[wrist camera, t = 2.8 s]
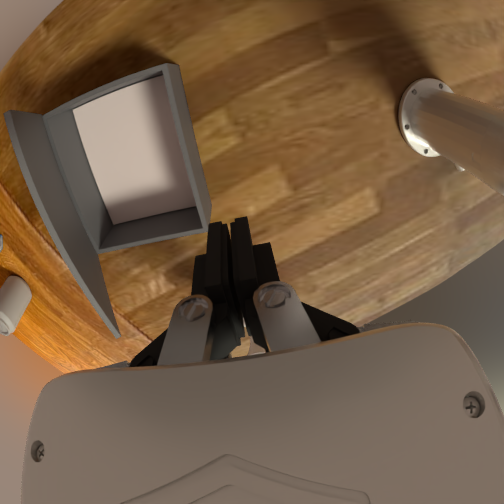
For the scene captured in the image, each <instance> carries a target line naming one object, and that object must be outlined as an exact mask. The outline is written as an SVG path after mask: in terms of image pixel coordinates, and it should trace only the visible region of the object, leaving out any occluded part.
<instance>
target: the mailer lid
mask: <svg viewBox="0 0 504 504" xmlns="http://www.w3.org/2000/svg"><path fill="white" fill-rule="evenodd" d="M4 117H5V121H6V125H7V128H8V132H9V135H10V138H11V142H12V145H13V148H14V151H15V154H16V157H17V160H18V162H19V165H20V168H21V171H22V173H23V176H24V178H25V181H26V183H27V186H28V188H29V191H30V193H31V195H32V198H33V200H34V202H35V204H36V207H37V209H38V211H39V213H40V215H41V217H42V219H43V222H44V224H45V226H46V228H47V230H48V232H49V233H50V235H51V237H52V239H53V241H54V243H55V245H56V247H57V249H58V250H59V252H60V254H61V256H62V258H63V259H64V261H65V263H66V264H67V266H68V268H69V270H70V271H71V273H72V275H73V276H74V278H75V279H76V281H77V283H78V284H79V286H80V287H81V289H82V291H83V292H84V294H85V295H86V297H87V298H88V300H89V301H90V303H91V304H92V306H93V307H94V308H95V310H96V311H97V313H98V314H99V316H100V317H101V318H102V320H103V321H104V323H105V324H106V325H107V327H108V328H109V329H110V331H111V332H112V333H113V335H114V336H115V337H116V339H117V338H119V337H121V334H120V332H119V329H118V326H117V323H116V319H115V316H114V313H113V310H112V307H111V303H110V300H109V296H108V293H107V289H106V286H105V282H104V278H103V274H102V270H101V266H100V262H99V258H98V254H97V252H96V250H95V249H94V247H93V245H92V243H91V241H90V239H89V237H88V235H87V232H86V230H85V228H84V226H83V224H82V222H81V220H80V218H79V215H78V213H77V211H76V209H75V206H74V204H73V202H72V199H71V197H70V195H69V192H68V190H67V187H66V185H65V182H64V180H63V177H62V175H61V172H60V169H59V167H58V164H57V161H56V158H55V156H54V153H53V150H52V147H51V144H50V141H49V138H48V134H47V131H46V128H45V125H44V121H43V118H42V114H35V113H29V112H22V111H15V110H9V111H7V112H5V113H4Z"/></svg>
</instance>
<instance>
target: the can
mask: <svg viewBox="0 0 504 504" xmlns="http://www.w3.org/2000/svg"><path fill="white" fill-rule="evenodd" d="M31 298H32V295H31V291H30V288H29V286H28V284H27V283H26V282H25V281H24V280H23V279H22V278H20V277H18V276H9V277H8V278H7V280H6V281H5V282H4V284H3V286H2V287H1V289H0V334H3V335H6V336H8V335H9V334H10V333H11V332H14V330H15V328H16V326H17V324H18V322H19V321H20V319H21V317H22V315H23V313H24V311H25V309H26V307H27V306H28V304H29V302H30V300H31Z"/></svg>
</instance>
